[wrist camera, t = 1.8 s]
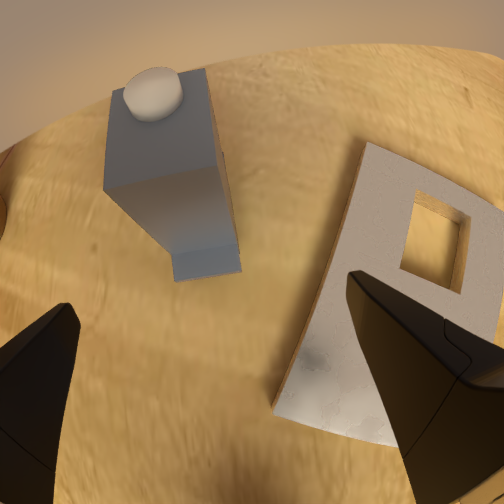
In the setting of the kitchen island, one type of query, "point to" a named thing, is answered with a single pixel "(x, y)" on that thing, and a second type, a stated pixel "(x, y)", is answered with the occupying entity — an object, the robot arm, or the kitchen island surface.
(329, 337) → the plate
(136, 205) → the block
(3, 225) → the plant pot
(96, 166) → the kitchen island surface
